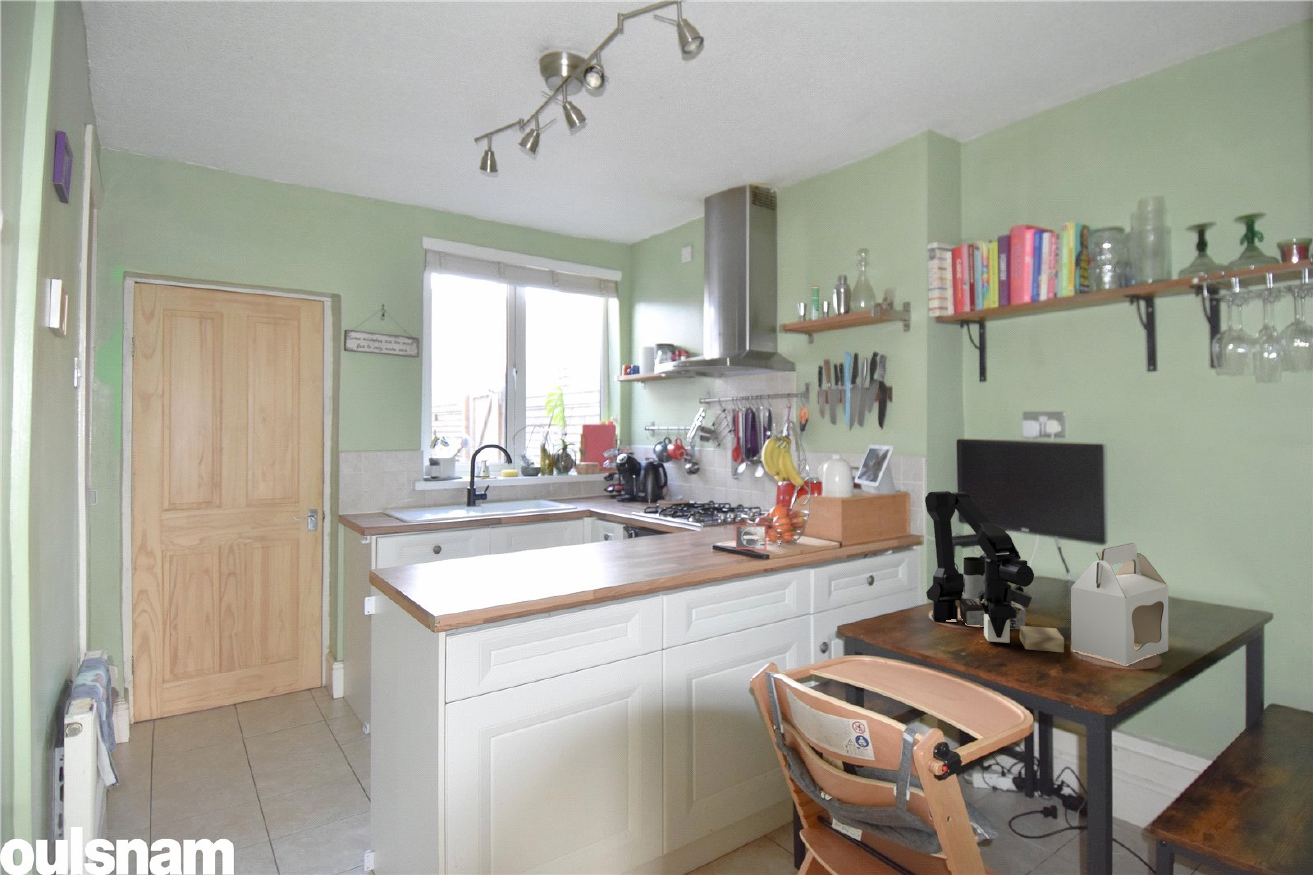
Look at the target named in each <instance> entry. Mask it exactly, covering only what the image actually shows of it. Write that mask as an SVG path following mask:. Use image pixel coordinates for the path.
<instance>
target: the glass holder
mask: <svg viewBox="0 0 1313 875" xmlns="http://www.w3.org/2000/svg"><path fill="white" fill-rule="evenodd" d="M979 557H980V556H967V557H966V556H965V557H963V561H962V562H963V566H962V567H963V573H962V574H963V576H964V585H965V587H964V591H963V593H962V597H961V598H964V599H978V593H979V592H980V591H981V590H985V584H984V583H983V579H985V560H982V559H980V558H979ZM955 568H956V569H957V571H958V572H959V566H958V564H957V563H956V562H955Z"/></svg>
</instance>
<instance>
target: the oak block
mask: <svg viewBox="0 0 1313 875" xmlns="http://www.w3.org/2000/svg"><path fill="white" fill-rule="evenodd" d="M1019 641H1020V642H1021V644H1022V645H1023V647H1024V649H1025V650H1032V651H1033V650H1034V651H1042V652H1044V651H1045V652H1056V653H1065V638H1064V636H1063V635H1062V634H1061V632H1059V630H1058V628H1055V627H1043V626H1042V627H1041V626H1029V625H1027V626H1026V625H1025V626H1020V629H1019Z"/></svg>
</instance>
